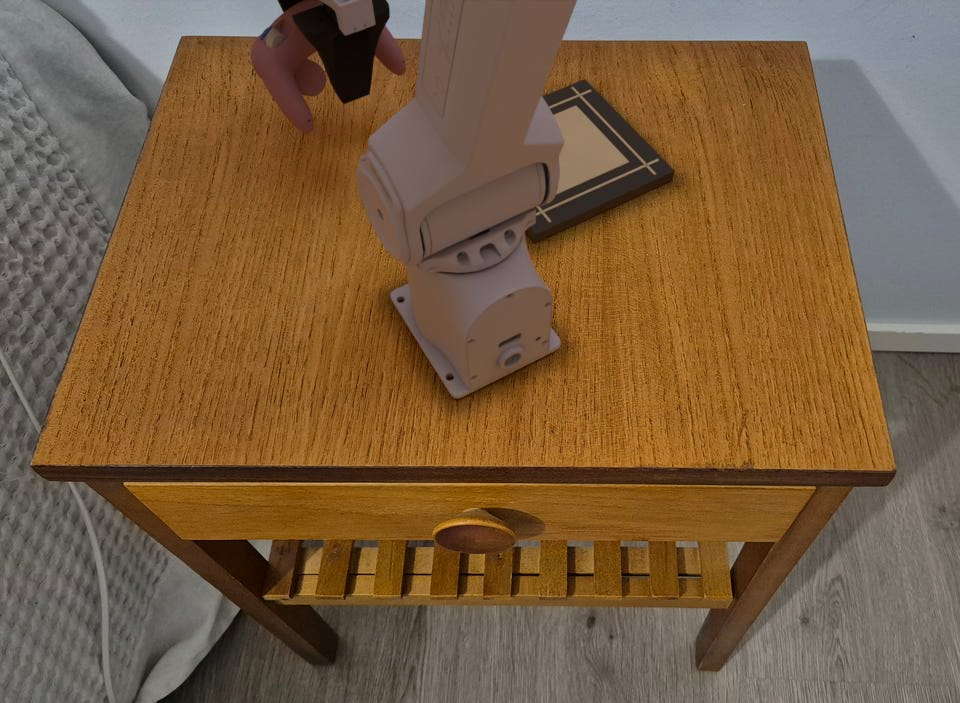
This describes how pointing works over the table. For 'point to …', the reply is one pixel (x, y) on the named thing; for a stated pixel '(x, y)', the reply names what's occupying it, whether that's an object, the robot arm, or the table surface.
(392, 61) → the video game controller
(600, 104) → the board
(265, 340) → the table surface
